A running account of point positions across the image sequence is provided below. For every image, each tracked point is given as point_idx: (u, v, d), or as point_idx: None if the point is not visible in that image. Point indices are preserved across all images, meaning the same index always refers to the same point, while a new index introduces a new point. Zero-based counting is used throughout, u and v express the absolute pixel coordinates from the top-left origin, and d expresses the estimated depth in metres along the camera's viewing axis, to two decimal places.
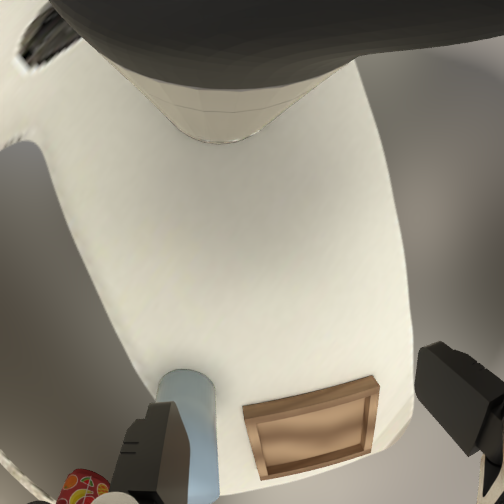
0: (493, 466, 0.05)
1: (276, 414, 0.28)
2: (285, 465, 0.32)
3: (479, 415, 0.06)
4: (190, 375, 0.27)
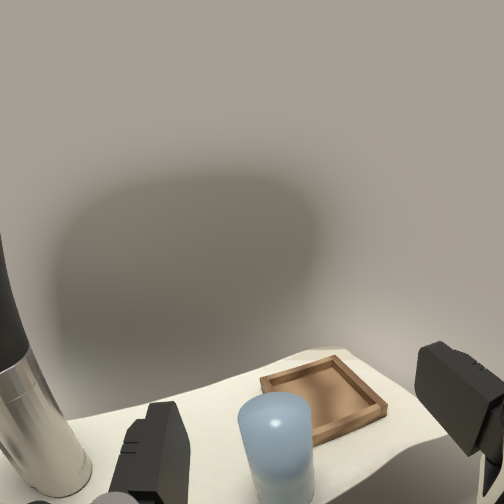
0: (493, 466, 0.05)
1: None
2: (366, 399, 0.35)
3: (479, 415, 0.06)
4: None
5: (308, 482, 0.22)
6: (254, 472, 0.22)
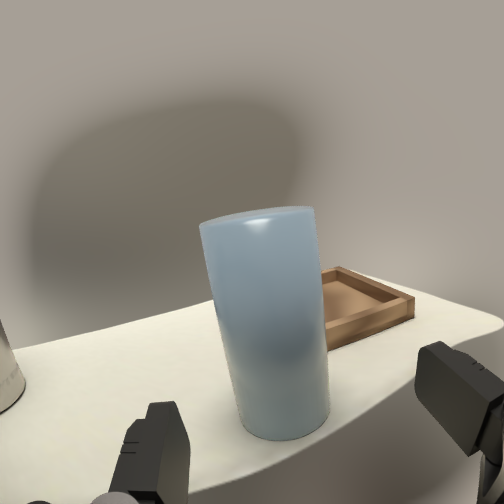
0: (493, 466, 0.05)
1: None
2: (385, 300, 0.29)
3: (479, 415, 0.06)
4: None
5: (321, 368, 0.16)
6: (227, 338, 0.15)
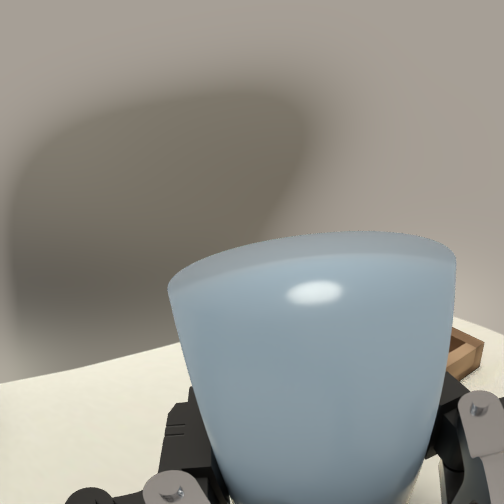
0: (453, 472, 0.05)
1: None
2: None
3: None
4: None
5: None
6: None
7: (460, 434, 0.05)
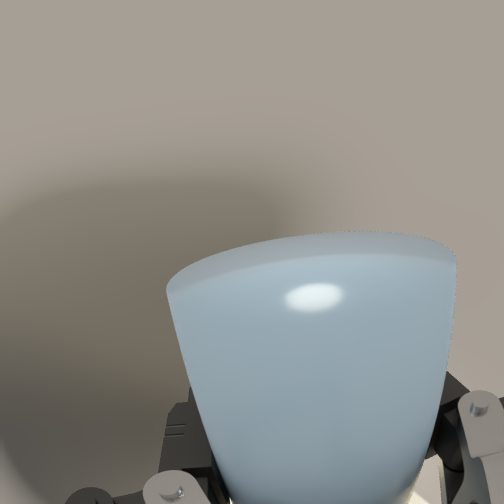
0: (453, 473, 0.05)
1: None
2: None
3: None
4: None
5: None
6: None
7: (460, 434, 0.05)
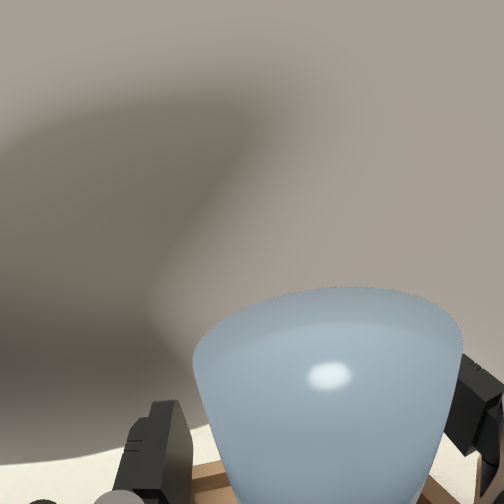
0: (490, 466, 0.05)
1: None
2: None
3: (475, 415, 0.06)
4: None
5: None
6: None
7: None
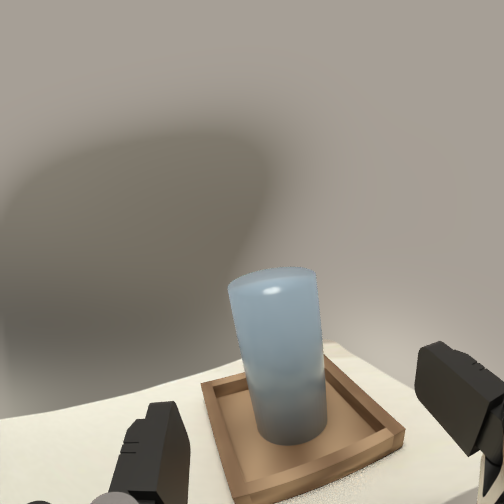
0: (493, 466, 0.05)
1: (223, 463, 0.17)
2: (368, 420, 0.20)
3: (479, 415, 0.06)
4: None
5: (320, 392, 0.20)
6: (250, 371, 0.20)
7: None
